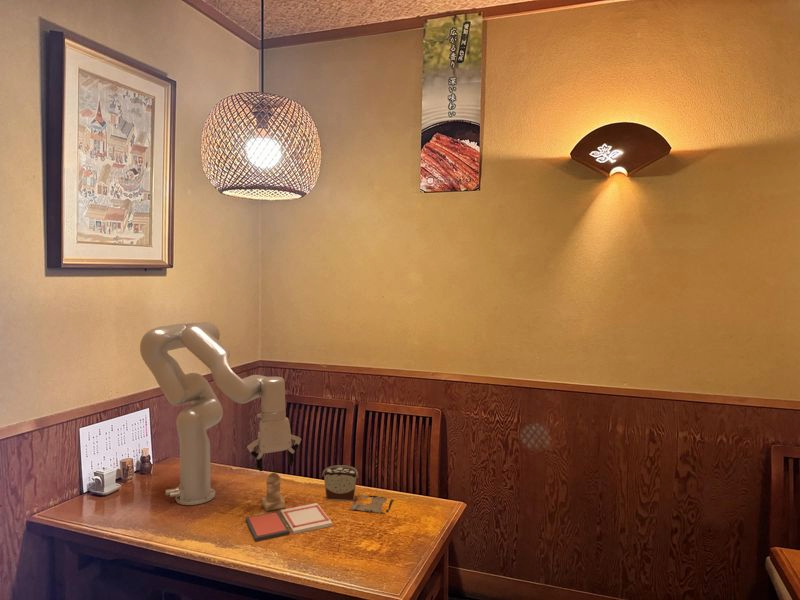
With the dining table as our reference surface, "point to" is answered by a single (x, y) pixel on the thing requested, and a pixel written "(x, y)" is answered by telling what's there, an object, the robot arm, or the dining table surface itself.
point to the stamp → (273, 494)
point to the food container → (340, 482)
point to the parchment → (370, 504)
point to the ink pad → (267, 526)
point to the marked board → (306, 518)
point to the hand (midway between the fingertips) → (275, 467)
